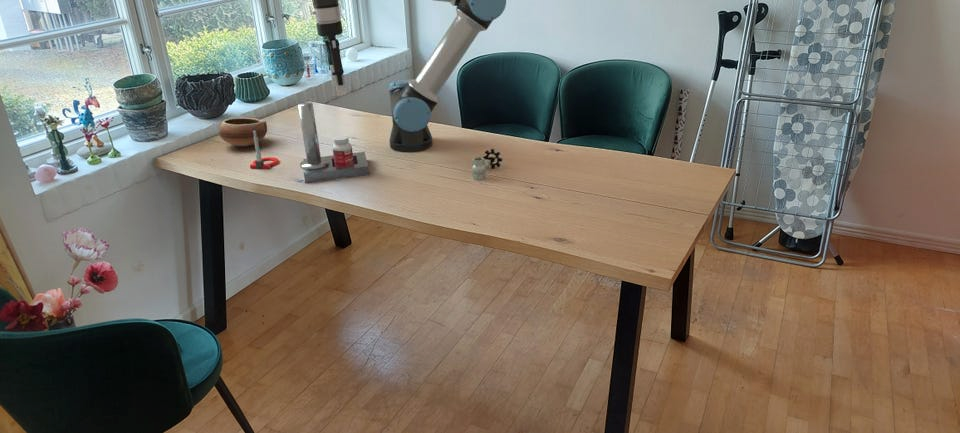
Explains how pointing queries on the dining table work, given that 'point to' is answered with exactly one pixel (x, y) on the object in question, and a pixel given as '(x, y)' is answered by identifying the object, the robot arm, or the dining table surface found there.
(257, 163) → the tow hook
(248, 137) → the bowl
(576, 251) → the dining table surface
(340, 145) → the pill bottle
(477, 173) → the valve
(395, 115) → the robot arm
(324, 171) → the rosette post
